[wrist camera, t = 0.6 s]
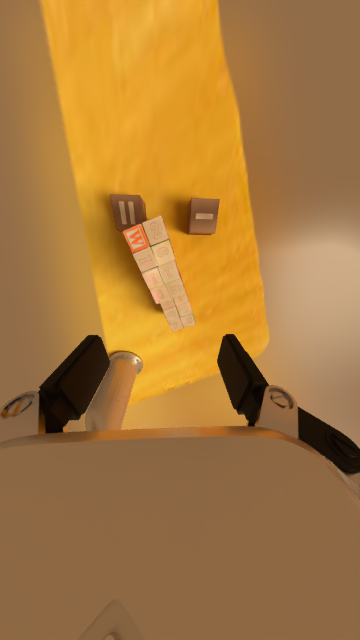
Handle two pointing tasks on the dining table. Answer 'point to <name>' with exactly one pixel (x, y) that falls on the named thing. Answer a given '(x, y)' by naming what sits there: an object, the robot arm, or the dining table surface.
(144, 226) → the stack of blocks
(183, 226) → the dining table surface
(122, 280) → the dining table surface
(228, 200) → the dining table surface
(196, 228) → the walnut cube one
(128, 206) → the walnut cube two
